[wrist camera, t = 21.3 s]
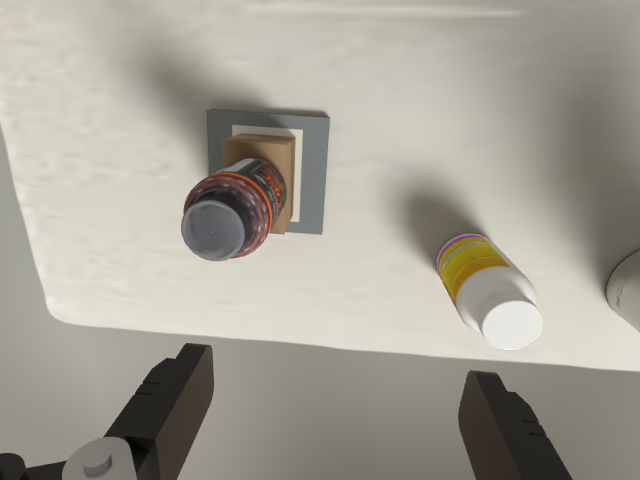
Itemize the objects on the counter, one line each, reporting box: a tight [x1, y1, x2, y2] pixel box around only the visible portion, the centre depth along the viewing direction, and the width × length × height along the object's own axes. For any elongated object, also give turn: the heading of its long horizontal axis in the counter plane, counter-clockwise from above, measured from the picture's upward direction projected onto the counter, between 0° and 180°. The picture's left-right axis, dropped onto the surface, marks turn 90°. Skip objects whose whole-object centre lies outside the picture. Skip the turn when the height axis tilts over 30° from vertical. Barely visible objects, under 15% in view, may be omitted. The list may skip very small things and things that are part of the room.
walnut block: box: [222, 133, 296, 234], centre depth 37 cm, size 6×8×6 cm
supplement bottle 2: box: [437, 233, 543, 350], centre depth 36 cm, size 7×7×13 cm
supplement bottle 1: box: [181, 158, 287, 261], centre depth 29 cm, size 6×6×11 cm
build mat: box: [207, 110, 330, 235], centre depth 40 cm, size 12×12×1 cm
